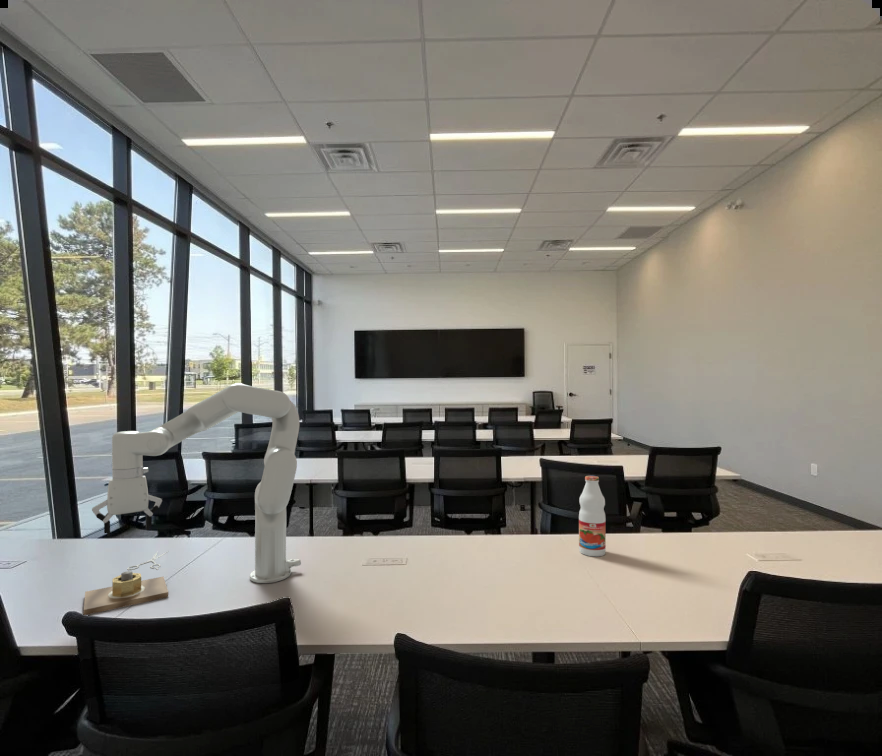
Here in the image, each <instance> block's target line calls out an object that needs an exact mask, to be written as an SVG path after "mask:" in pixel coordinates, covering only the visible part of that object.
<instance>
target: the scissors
mask: <svg viewBox="0 0 882 756" xmlns="http://www.w3.org/2000/svg"><path fill="white" fill-rule="evenodd" d="M158 552H159V550H157V551H156V553H154V554H153V556H152V558H150V559H149V560H146V561H145V562H141V563H139V564H135V565H130V566H129V567H127V568H126V569H127V570H128V571H132V570H133V571H134V570H136V569H138V568H140V566H141V565H144V564H148V563H153V564H152V565H150V566H149V568H150V569H156V570H157V571H158V570H159V568H161V567H162V566H161V564H160V563H157V561H156V560H157V559H159V558H160V557H162V556H164V555H165V554H168V551H165V552H164V553H162V554H160V555H158ZM154 566H155V567H154Z"/></svg>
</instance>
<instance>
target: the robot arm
mask: <svg viewBox="0 0 882 756" xmlns="http://www.w3.org/2000/svg"><path fill="white" fill-rule="evenodd" d="M238 413H244V414H247V415H255V416H259V417H265V418H270V419H271V420H272V425H271V427H272V428H271V432H270V437H269V441H268V446H267V449H266V452H265V454H264V459H263V465H264V467H263V472H262V477H261V481H260V482H259V483H258V484H257V486H256V488H255V490H254V491H255V492H254V510H255V512H254V515H255V516H254V517H255V518H254V519H255V522H254V523H255V524H254V525H255V527H254V532H255V533H254V535H255V536H254V570H253V571H251V572H250V574H249V580H250V581H251V582H253V583H256V584H271V583H272V584H273V583H277V582H280V581H283V580H286V579H287V578H289V577H290V576H291V573H292V567H298V566H301V565H302V561H301V559H299V558H298V559H295V558H291V559H288V558H287V506H288V504H289V503H290V502H289V501H290V499H291V494H292V490H293V486H294V481H295V478H296V475H297V474H296V473H297V467H298V460H297V457H296V455H295V452H296V448H297V443H298V442H297V441H298V436H299V431H300V416H299V413H298V409H297V407H296V406H295V404H294V403H293V402H292V400H291V399H290V397H289V396H288V395H287V394H286V393H285V392H284V391H280V390H273V389H267V388H262V387H257V386H252V385H248V384H244V383H239V382H237V383H233V384H230V385H228V386H227V387H225V388H223V389H221V390H219V391H218V392H216V393H214V394H212V395H211V396H208V397H206V398H205V399H203V400H201V401H199V402H197V403H195V404H194V405H193V406H191V407H189V408H188V409H187V410H186V411H184V412H182V413H181V414H179V415H177V416H175V417H173V418H172V419H170V420H169V421H167V422H164V423H163V424H161V425H159V426H157V427H156V428H154V429H152V430H149V431H142V432H140V431H137V430H127V431H126V430H124V431H117V432H115V433H113V435H112V436H111V453H112V454H111V456H112V459H111V461H112V462H111V467H112V471H111V472H112V474H111V475H112V477H111V479H109V480H108V486H107V496H106V497H107V498H106V500H104V501H102V502H100V503H99V504H97V505H95V506H93V507H92V508H91V511H92V513H93V514H94V516H95V517H96V518H97V519H98V520H99V521H100V522H102V523H103V526H104V527H103V531H104V532H103V533H104V534H106V537H110V536H111V518H112V517H113V516H115V515H116V516H117V515H124V514H132V513H133V514H134V513H138V512H144V513H145V514H146V515H145V530H147V531H150V527H152V526H153V524H152V523H153V521H152V520H153V517H152V516H153V515H154V514H155V513H156V512H157V511H158V510H159V508H160V507H161V505H162V502H163V498H160V497H157V496H155V495H154V496H153V495H150V494H149V489H148V481H147V478H146V475H144V474H146V473H149V467H144V464H143V463H144V461H143V460H144V459H143V456H150V457H157V456H161V455H163V454H165V453H166V452H167V451H169V449H172V447H174V446H176V445H178V444H180V443H181V442H183V441H185V440H186V439H188V438H190V437H192V436H194V435H196V434H198V433H200V432H204V431H207V430H209V429H211V428H213V427H215V426H217V425H219V424H220V423H222V422H223V421H225V420H227V419H228V418H230V417H232V416H234V415H236V414H238ZM149 501H151V502H155V503H154V505H153V506H152V507H151V508H149ZM105 507H106V509H107V510H106V511H107V513H106V514H105V515H104V514H103V513H101V511H100V510H101V509H103V508H105Z"/></svg>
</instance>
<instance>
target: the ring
mask: <svg viewBox="0 0 882 756" xmlns="http://www.w3.org/2000/svg"><path fill="white" fill-rule="evenodd" d="M141 574H142V573H136V572H133V579H131V580H126V581H121V574H120V575H117V576H115V577H113V578H112V579H111V581H112V582H111V583H112V586H111V587H112V595H113V596H116V597H124V596H129V595H133V594H135V593H137V592H139V591H141V581H142V575H141Z"/></svg>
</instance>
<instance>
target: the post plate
mask: <svg viewBox="0 0 882 756" xmlns="http://www.w3.org/2000/svg"><path fill="white" fill-rule="evenodd" d="M133 573H134V572H133V571H132V570H128V571H123V572H122V573H121V574H120V575H121V581H126V580H131V579H133ZM166 598H169V590H168V586H167V583H166V580H165V577H164V576H159V577H154V578H148V579H144V580H141V591H139V592H137V593H135V594H133V595H129V596H124V597H116V596H113V595H112V586H108V587H103V588H98V589H93V590H87V591H85V592H84V602H83V603H84V605H83V616H89V615H93V614H97V613H102V612H106V611H111V610H114V609H115V610H116V609H120V608H124V607H125V608H126V607H129V606H134V605H139V604H143V603H147V602H153V601H157V600H162V599H166Z"/></svg>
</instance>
